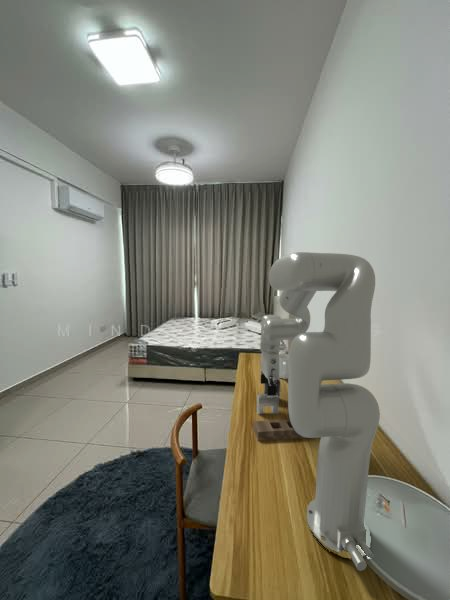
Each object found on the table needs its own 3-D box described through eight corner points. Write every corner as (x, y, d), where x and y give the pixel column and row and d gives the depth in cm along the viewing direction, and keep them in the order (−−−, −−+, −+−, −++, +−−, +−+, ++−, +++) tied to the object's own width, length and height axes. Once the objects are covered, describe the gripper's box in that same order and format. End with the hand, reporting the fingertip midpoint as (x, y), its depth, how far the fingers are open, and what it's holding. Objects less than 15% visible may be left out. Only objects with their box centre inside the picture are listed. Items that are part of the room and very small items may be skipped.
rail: (307, 426, 89) (308, 418, 88) (315, 437, 83) (316, 428, 82) (253, 429, 86) (253, 421, 86) (257, 440, 80) (258, 431, 80)
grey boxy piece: (275, 410, 99) (276, 393, 98) (278, 414, 96) (279, 397, 95) (256, 411, 98) (257, 394, 97) (258, 415, 95) (259, 397, 94)
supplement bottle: (279, 404, 103) (281, 377, 102) (263, 402, 105) (264, 375, 104) (279, 397, 110) (280, 371, 109) (264, 395, 111) (265, 369, 110)
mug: (275, 372, 139) (276, 353, 138) (292, 374, 137) (293, 355, 136) (274, 381, 127) (275, 360, 126) (292, 383, 125) (293, 362, 124)
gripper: (287, 354, 87) (284, 400, 89) (272, 340, 104) (270, 379, 106) (267, 354, 86) (264, 400, 88) (255, 340, 103) (253, 379, 105)
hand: (267, 389), depth 97 cm, fingers open, 9 cm apart
